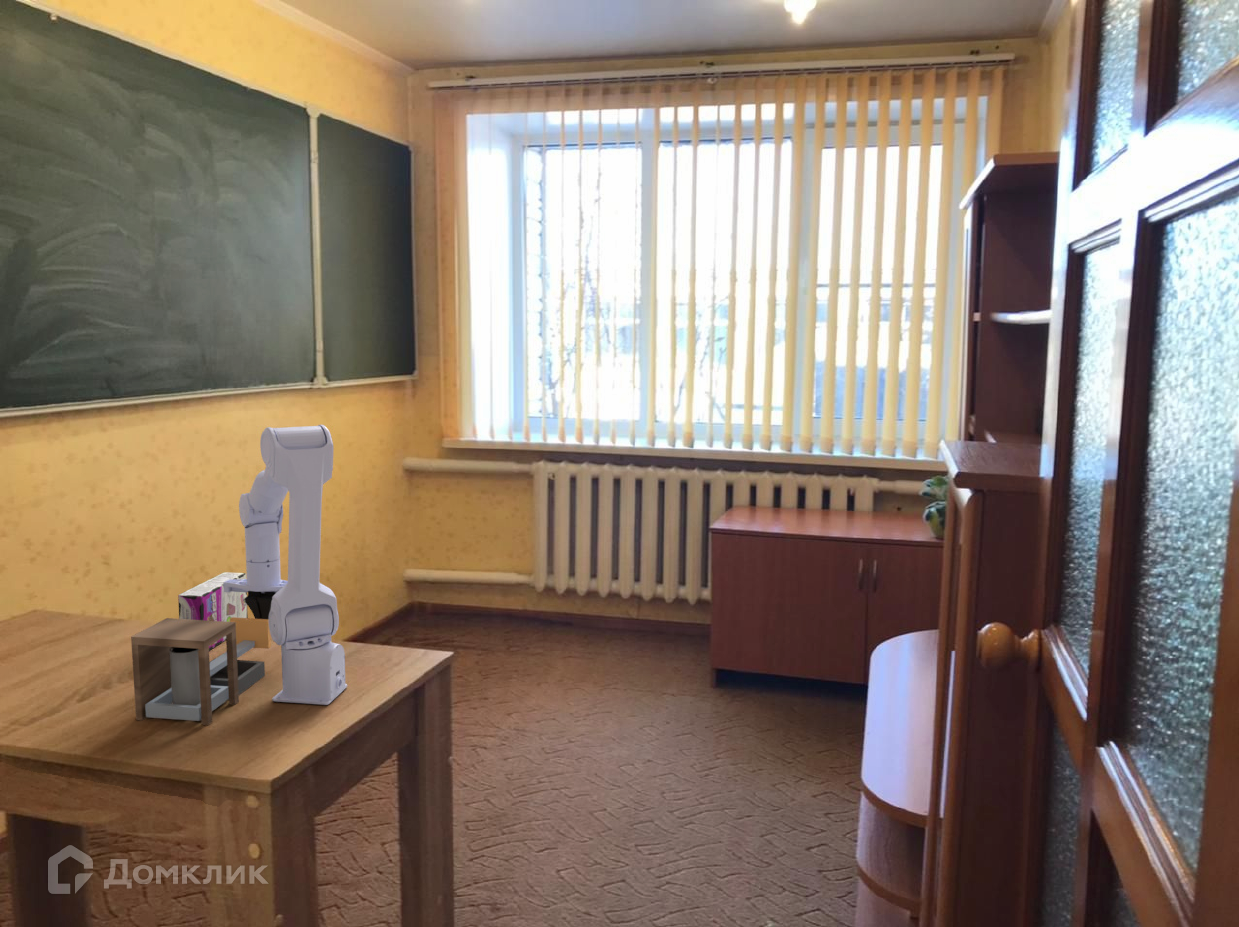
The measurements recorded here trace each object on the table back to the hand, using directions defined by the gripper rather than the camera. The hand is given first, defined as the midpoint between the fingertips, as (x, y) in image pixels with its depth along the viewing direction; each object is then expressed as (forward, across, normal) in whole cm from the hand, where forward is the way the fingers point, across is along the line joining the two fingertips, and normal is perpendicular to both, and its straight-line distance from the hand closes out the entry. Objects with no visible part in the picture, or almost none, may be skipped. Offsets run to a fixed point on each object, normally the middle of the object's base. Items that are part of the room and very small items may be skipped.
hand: (265, 631), depth 169 cm
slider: (+4, 0, +17) cm, 17 cm away
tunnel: (+4, 0, +25) cm, 25 cm away
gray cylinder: (+5, 0, +25) cm, 25 cm away
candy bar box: (-1, +14, +2) cm, 14 cm away
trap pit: (+4, 0, +14) cm, 15 cm away
